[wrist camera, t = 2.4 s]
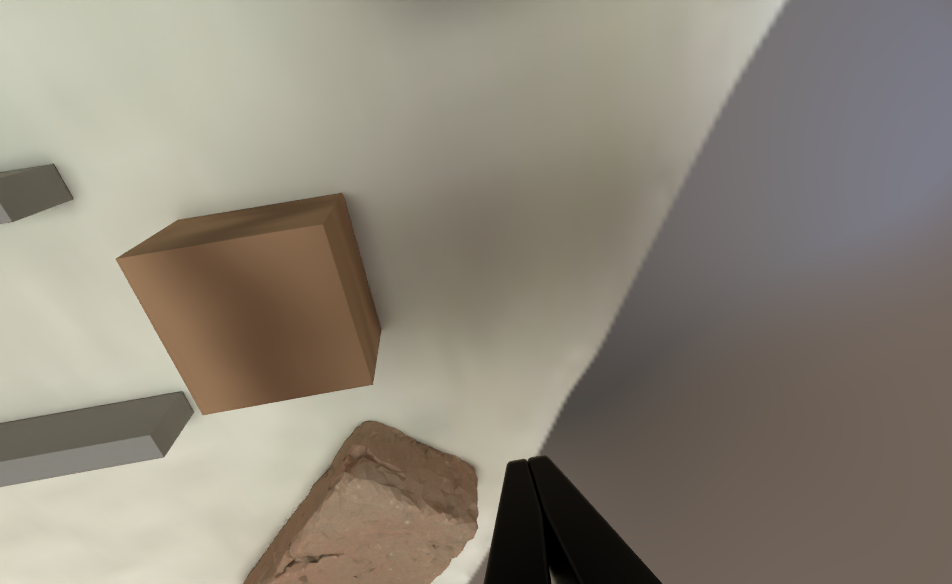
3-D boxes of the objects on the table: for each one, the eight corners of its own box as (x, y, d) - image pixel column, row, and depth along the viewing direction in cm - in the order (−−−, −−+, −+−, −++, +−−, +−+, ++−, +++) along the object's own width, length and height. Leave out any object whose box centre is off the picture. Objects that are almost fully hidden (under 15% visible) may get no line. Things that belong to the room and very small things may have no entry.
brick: (360, 410, 25) (347, 480, 21) (482, 463, 28) (492, 534, 23) (239, 575, 30) (209, 658, 26) (352, 605, 33) (341, 684, 29)
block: (343, 191, 19) (322, 224, 15) (381, 328, 22) (373, 384, 18) (179, 218, 19) (115, 258, 15) (242, 352, 22) (202, 415, 18)
